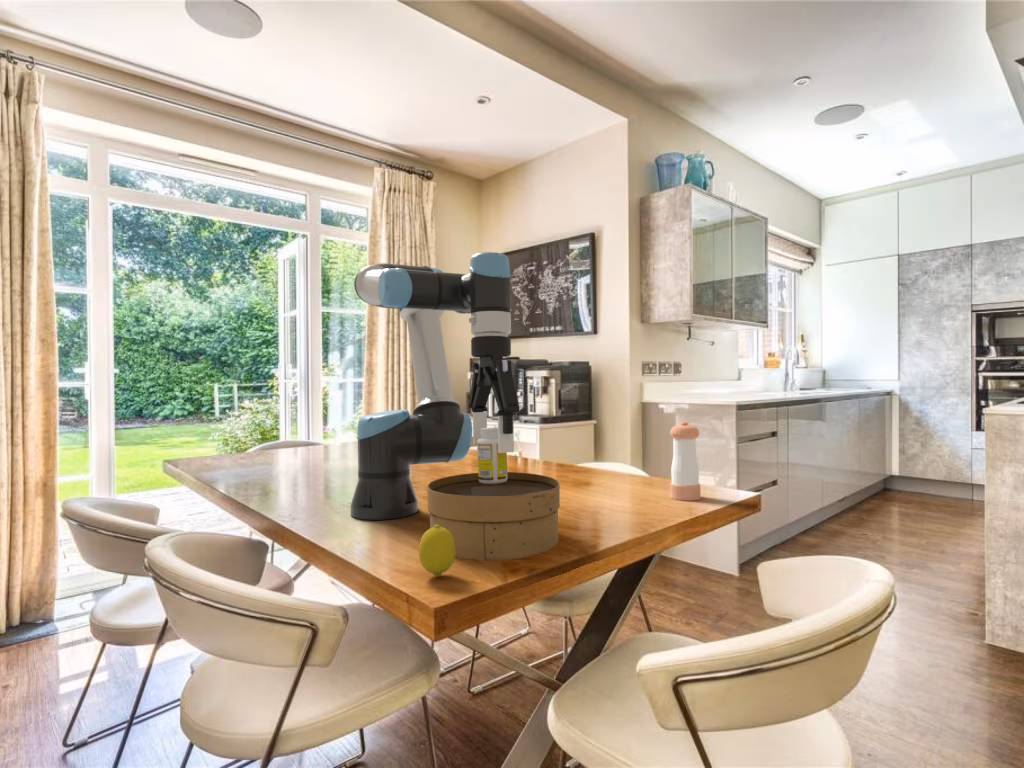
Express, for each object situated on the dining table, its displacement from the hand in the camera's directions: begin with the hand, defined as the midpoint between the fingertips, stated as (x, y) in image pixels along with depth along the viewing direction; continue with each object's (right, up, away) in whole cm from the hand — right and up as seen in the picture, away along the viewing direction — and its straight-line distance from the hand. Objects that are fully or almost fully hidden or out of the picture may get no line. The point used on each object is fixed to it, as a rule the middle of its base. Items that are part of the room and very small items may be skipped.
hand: (492, 448), depth 103 cm
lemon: (-8, -18, -20) cm, 27 cm away
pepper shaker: (+48, -17, +34) cm, 61 cm away
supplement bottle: (0, -7, 0) cm, 7 cm away
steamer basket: (0, -18, 0) cm, 18 cm away
